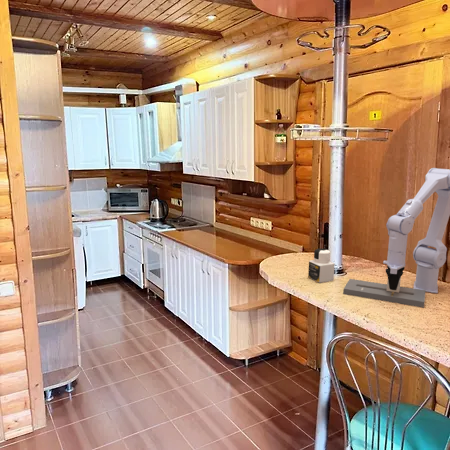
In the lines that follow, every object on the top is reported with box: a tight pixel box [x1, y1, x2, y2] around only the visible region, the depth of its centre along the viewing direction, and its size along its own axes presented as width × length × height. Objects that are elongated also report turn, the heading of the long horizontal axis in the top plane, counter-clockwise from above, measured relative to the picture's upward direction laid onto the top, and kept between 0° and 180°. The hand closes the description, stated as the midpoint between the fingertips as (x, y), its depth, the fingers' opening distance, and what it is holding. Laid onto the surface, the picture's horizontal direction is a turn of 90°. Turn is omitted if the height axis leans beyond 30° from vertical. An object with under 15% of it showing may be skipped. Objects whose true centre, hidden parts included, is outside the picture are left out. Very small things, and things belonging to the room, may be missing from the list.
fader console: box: [342, 278, 426, 309], centre depth 146 cm, size 12×26×2 cm, turn 63°
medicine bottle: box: [307, 248, 335, 284], centre depth 161 cm, size 7×7×12 cm
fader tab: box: [386, 277, 402, 293], centre depth 144 cm, size 3×4×5 cm
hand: (393, 287), depth 144 cm, fingers closed on fader tab, 3 cm apart
